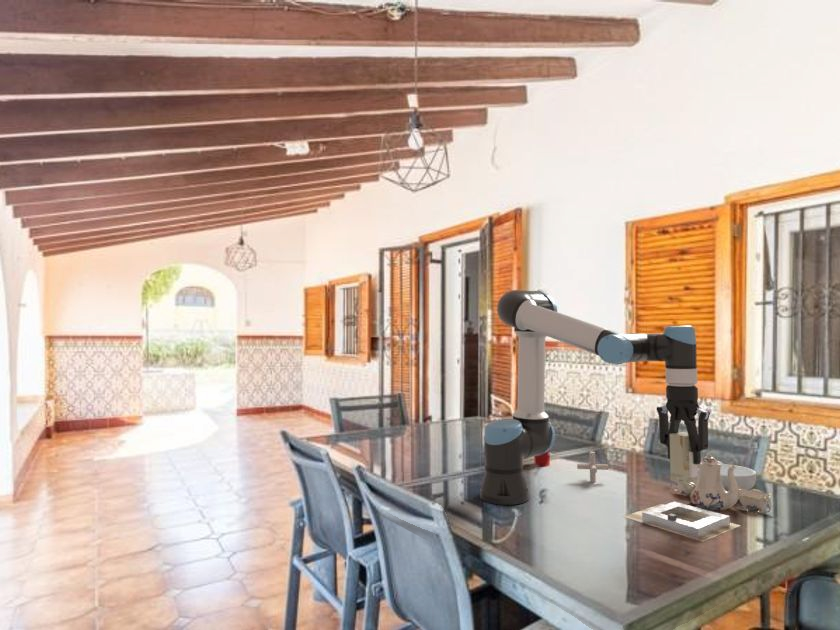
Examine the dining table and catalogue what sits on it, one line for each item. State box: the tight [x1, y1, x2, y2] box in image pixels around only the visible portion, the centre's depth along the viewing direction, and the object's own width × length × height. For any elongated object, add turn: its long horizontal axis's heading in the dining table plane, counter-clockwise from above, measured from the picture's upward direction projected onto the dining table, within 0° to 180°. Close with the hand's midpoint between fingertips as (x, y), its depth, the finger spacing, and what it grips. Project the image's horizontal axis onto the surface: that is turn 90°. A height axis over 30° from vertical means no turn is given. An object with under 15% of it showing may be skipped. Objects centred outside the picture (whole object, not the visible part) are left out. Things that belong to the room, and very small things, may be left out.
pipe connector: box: [576, 451, 609, 484], centre depth 187 cm, size 10×10×10 cm
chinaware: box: [670, 452, 772, 514], centre depth 159 cm, size 28×17×17 cm, turn 44°
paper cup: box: [533, 449, 551, 467], centre depth 211 cm, size 8×8×14 cm
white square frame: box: [641, 501, 731, 540], centre depth 143 cm, size 15×15×4 cm
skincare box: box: [669, 431, 698, 484], centre depth 143 cm, size 6×4×12 cm
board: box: [622, 503, 742, 542], centre depth 145 cm, size 18×22×1 cm
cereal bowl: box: [698, 463, 757, 491], centre depth 174 cm, size 17×17×7 cm
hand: (684, 474), depth 143 cm, fingers closed on skincare box, 4 cm apart
